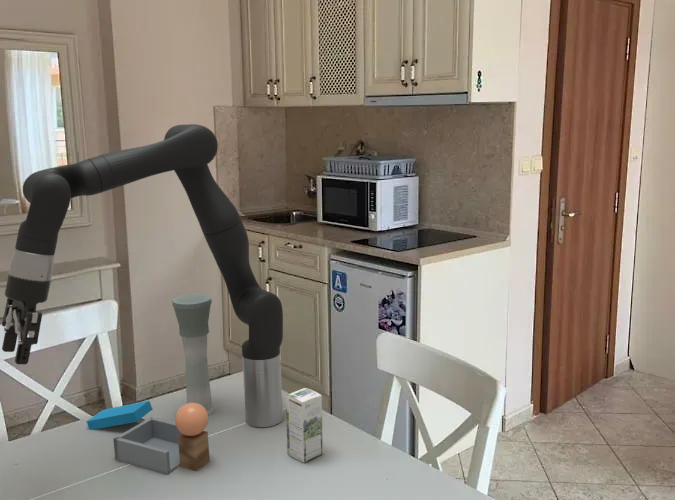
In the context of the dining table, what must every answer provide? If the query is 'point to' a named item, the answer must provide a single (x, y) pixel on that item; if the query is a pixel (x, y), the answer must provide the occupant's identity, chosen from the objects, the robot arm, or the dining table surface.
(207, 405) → the container
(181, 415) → the ball
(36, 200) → the robot arm
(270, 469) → the dining table surface
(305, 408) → the syrup box
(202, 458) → the wooden block
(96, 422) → the lever
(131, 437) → the tray
